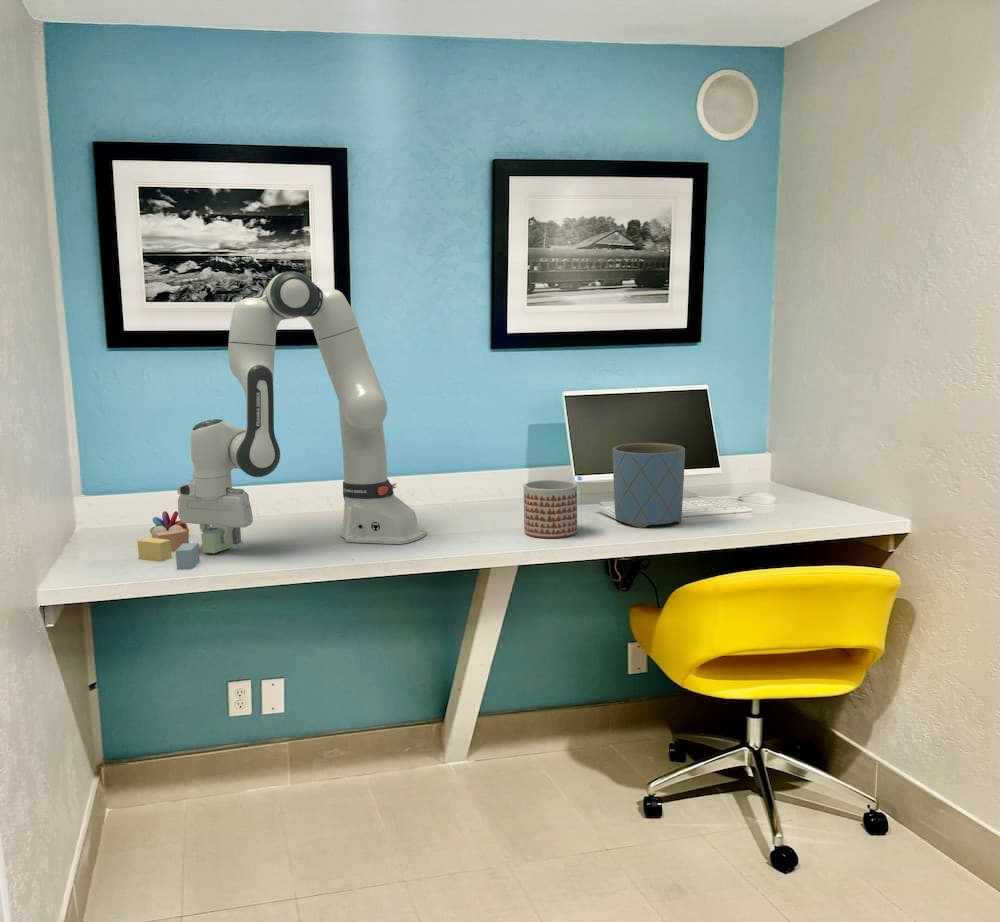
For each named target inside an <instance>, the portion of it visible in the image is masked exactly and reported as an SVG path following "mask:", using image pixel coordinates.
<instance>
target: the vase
mask: <svg viewBox="0 0 1000 922" xmlns="http://www.w3.org/2000/svg"><path fill="white" fill-rule="evenodd" d="M523 525H524V526H523V528H524V531H523V532H524V533H525V535H527V536H529V537H531V538H532V537H533V538H537V539H546V540H547V539H553V540H554V539H563V538H568V537H571V536H574V535H576V534H577V533H578V484H577V483H576V482H573V481H570V480H565V479H539V480H537V479H536V480H532V481H528V482H526V483H524V484H523Z"/></svg>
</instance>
